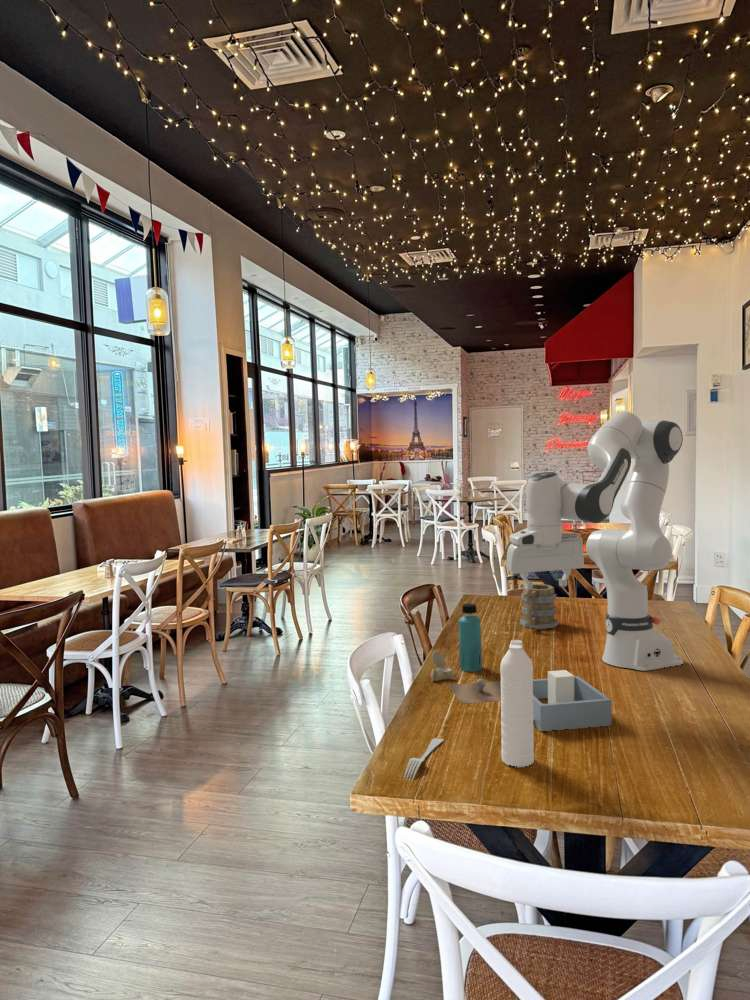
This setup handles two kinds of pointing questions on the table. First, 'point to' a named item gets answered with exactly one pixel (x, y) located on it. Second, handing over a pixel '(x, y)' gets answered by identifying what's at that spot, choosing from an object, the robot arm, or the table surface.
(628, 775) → the table surface
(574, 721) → the slate bin
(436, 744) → the fork
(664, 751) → the table surface
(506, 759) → the water bottle
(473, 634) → the beverage bottle
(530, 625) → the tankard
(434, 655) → the bone
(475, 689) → the walnut base
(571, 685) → the ivory rectangular pillar
